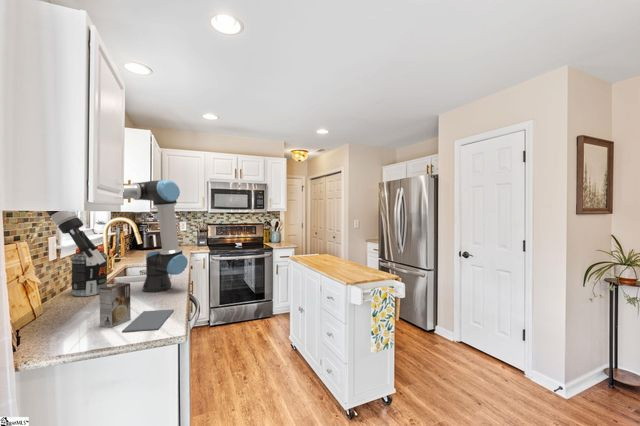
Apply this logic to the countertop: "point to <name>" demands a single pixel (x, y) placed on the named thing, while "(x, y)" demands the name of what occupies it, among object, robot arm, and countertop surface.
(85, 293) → the supplement tub
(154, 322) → the mat
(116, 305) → the coffee box
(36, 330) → the countertop surface
